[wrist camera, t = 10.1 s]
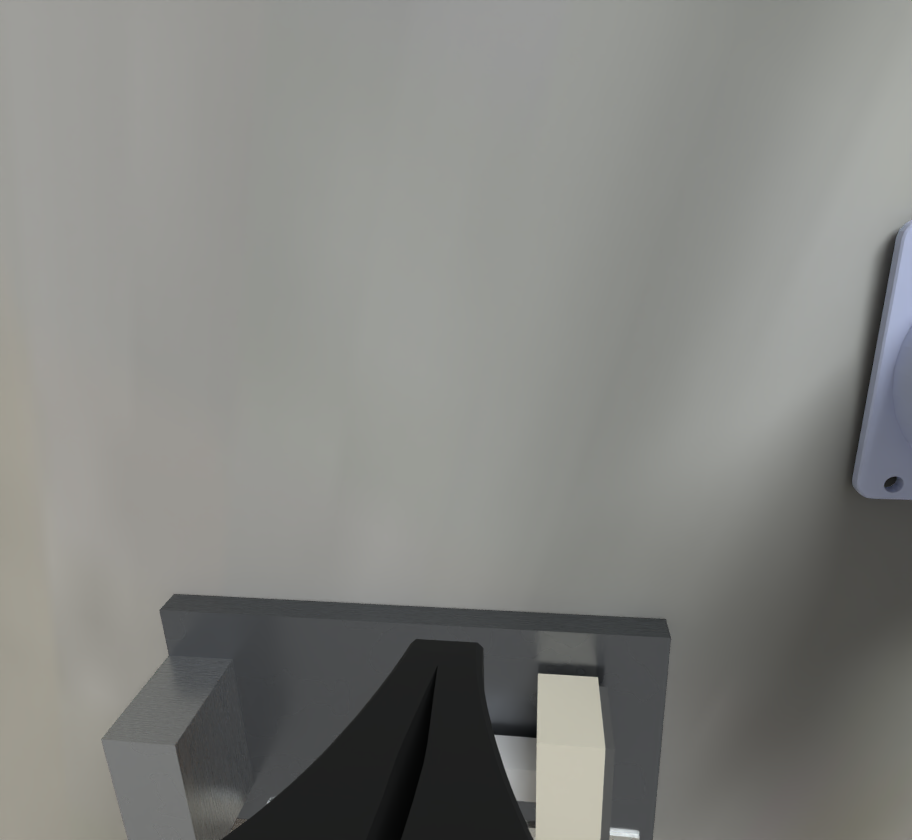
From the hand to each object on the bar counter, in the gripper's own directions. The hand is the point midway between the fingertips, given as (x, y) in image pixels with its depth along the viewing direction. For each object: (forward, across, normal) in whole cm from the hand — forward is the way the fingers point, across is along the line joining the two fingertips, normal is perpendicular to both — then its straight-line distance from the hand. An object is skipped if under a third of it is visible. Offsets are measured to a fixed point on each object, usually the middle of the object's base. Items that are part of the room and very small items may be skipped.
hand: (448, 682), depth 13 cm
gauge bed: (+9, +3, +10) cm, 14 cm away
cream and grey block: (+8, -1, +10) cm, 13 cm away
